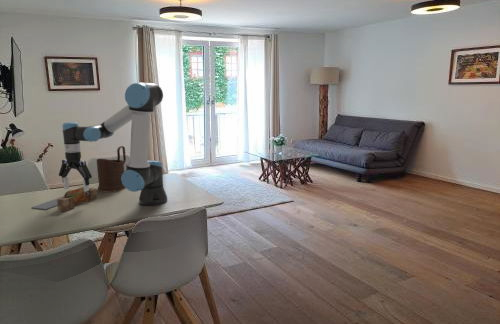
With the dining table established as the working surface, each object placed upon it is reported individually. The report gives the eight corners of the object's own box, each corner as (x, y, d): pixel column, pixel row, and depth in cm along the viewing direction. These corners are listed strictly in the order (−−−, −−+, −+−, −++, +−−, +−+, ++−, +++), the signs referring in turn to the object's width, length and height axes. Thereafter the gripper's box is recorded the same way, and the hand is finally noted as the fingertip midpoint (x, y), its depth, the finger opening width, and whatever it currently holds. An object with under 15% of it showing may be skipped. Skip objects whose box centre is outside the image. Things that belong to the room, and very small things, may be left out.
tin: (67, 207, 193) (65, 192, 191) (63, 206, 194) (61, 191, 193) (92, 200, 205) (90, 185, 204) (88, 199, 207) (86, 185, 205)
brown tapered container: (90, 190, 225) (86, 151, 220) (115, 181, 248) (111, 145, 243) (115, 192, 220) (112, 152, 215) (138, 183, 242) (135, 146, 237)
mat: (80, 197, 212) (80, 196, 212) (46, 210, 189) (46, 208, 189) (67, 195, 215) (67, 194, 215) (31, 208, 193) (31, 207, 192)
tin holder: (97, 198, 208) (96, 188, 207) (66, 211, 187) (64, 200, 186) (90, 197, 210) (88, 187, 209) (57, 210, 189) (56, 199, 188)
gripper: (48, 151, 193) (53, 189, 197) (86, 154, 185) (89, 193, 190) (60, 149, 200) (64, 186, 204) (96, 151, 192) (100, 190, 197)
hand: (76, 189), depth 197 cm, fingers open, 13 cm apart
